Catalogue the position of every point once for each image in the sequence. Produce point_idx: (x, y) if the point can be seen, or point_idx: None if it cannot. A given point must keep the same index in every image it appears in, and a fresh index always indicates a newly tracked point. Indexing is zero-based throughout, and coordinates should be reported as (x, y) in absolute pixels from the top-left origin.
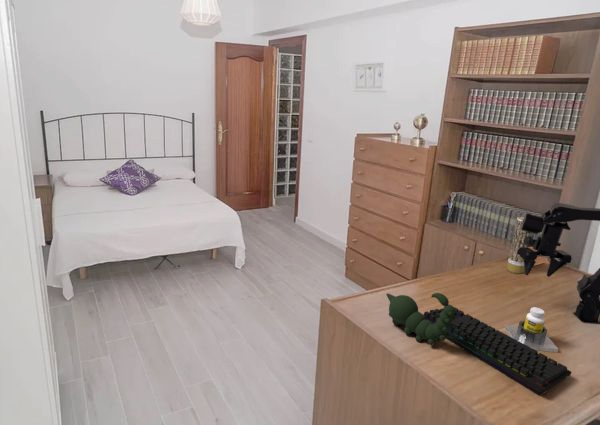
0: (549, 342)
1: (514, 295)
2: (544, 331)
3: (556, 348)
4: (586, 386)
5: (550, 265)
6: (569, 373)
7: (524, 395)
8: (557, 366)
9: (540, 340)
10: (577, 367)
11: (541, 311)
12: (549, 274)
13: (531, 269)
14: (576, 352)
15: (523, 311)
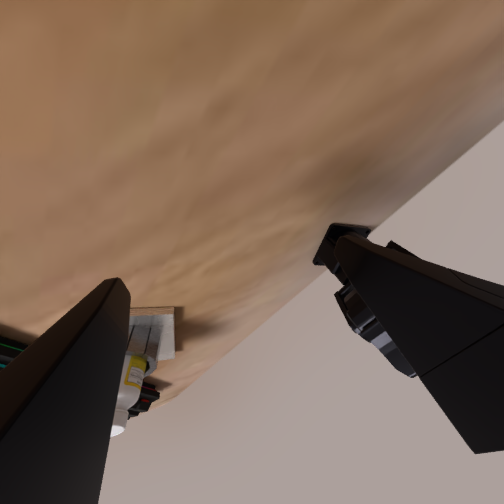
0: (166, 348)
1: (197, 49)
2: (146, 373)
3: (171, 358)
4: (177, 388)
5: (450, 303)
6: (154, 400)
7: None
8: (131, 414)
9: None
10: (188, 368)
11: (114, 432)
12: (347, 269)
13: (115, 405)
14: (212, 344)
15: (172, 220)
